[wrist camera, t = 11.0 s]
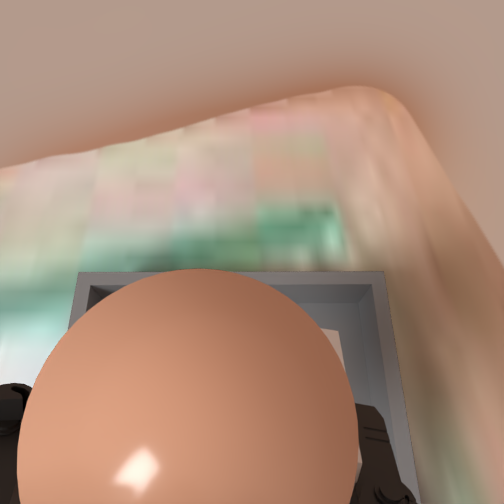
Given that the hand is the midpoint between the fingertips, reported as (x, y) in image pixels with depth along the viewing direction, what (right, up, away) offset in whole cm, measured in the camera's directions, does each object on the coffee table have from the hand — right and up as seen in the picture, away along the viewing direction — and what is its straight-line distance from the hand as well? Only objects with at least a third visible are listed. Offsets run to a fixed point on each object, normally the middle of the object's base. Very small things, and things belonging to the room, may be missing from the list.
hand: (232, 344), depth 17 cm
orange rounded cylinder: (-1, -5, +2) cm, 5 cm away
